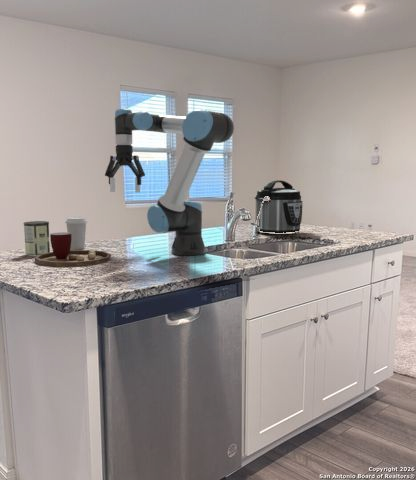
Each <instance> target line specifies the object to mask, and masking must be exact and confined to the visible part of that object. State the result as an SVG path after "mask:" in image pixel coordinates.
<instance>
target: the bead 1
mask: <svg viewBox="0 0 416 480" xmlns="http://www.w3.org/2000/svg"><path fill="white" fill-rule="evenodd" d="M76 260H77V262H78V261H84V256H83V255H78V256H77V257H76Z"/></svg>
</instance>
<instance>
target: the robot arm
mask: <svg viewBox="0 0 416 480" xmlns="http://www.w3.org/2000/svg"><path fill="white" fill-rule="evenodd" d="M114 125H115V126H114V128H115V137H114V138H115V144H116V146H115V154H116V156H115V155H110V157H109V163H108V165H107V167H106V170H105V174H104V176H105V177H107V178H108V185H109V188H110V189H109V191H110V193H112V192H113V193H114V192H116V179H115V175H116V174H117V172H118V171H119V169H120V168H121V167H122V166H123V167H124V166H125V167H126V166H127V167H129V168H130V170H131V171H132V173H133V174H134V175H135V178H134V189H135V190H134V191H135V193H140V192H141V185H142V177H146V174H145V171H144V168H143V166H142V164H141V162H140V157H139V155H137V154H136V155H135V154H134V155H133V153H134V152H133V148H134V147H133V145H132V144H133V131H142V132H143V131H145V132H156V133H162V134H177V135H183V138H182V140H183V142H184V145H183V149H182V151H181V152H180V153H181V154H180V156H179V158H178V160H177V163H176V166H175V168H174V171H173V173H172V175H171V178H170V179H169V183H168V185H167V188H166V190H165V193H164V195H161V196H159V198H158V200H157V203H156V204H153V205H151V206H150V207H149V208H148V210H147V212H146V214H147V215H146V219H147V223H148V225H149V227H150V229H152V231H153V232H154V233H157V234H159V233H160V234H161V233H163V234H166V233H170V232H175V236H174V240H173V242H172V245H171V254H172V255H178V256H198V255H204V254H206V245H205V243H204V240H203V237H202V230H203V229H202V226H203V225H202V223H203V222H202V219H203V218H202V217H203V215H202V214H203V210H202V209H203V208H202V204H201V203H200V202H197V201H191V200H190V201H188V200H186V199H187V196H188V194H189V192H190V189H191V187H192V185H193V182H194V180H195V178H196V175H197V173H198V171H199V168H200V166H201V163H202V161H203V159H204V157H205V155H206V154H207V153H208V152H210V151H211V150H212V148H213V146H214V143H215V144H222V143H225V142H227V141H228V140H230V138H232V137H233V134H234V132H235V131H234V130H235V125H234V122H233V119H232V118H231V116H229V115H228V114H225V113H223V112H217V111H211V110H206V109H194V110H192V111H190V112H188V113H187V114H186V116H182V115H181V116H179V115H177V116H176V115H164V114H163V115H162V114H155V113H154V114H153V113H149V112H148V111H137V112H133V111H132V110H131V109H128V108H118V109H116V110H115V114H114Z"/></svg>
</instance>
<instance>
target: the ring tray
mask: <svg viewBox="0 0 416 480" xmlns="http://www.w3.org/2000/svg"><path fill="white" fill-rule="evenodd" d="M89 251H95V253H96V256H95V259H94V260H89V259H88V253H89ZM78 255H83V256H84V261H78V262H77V260H76V257H77V256H78ZM111 258H112V254H111V253H109V252H106V251H103V250H94V249H93V250H92V249H77V250H70V253H69V255H68V257H67V258H66V259H57V258H56V257H55V255H54V253H53V251H50V252H49V253H44V254H40V255H38V256H34V263H36V264H38V265H40V266H45V267H58V268H59V267H62V268H63V267H64V268H65V267H84V266H92V265H93V266H94V265H99V264H100V265H101V264H103V263H107V262H109V261H110V260H111Z"/></svg>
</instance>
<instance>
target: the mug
mask: <svg viewBox="0 0 416 480" xmlns="http://www.w3.org/2000/svg"><path fill="white" fill-rule="evenodd" d="M71 241H72V236H71V233H68V232H52V233H49V242H50V246H51V250H52V252H53V253H54V255H55V257H56V258H57V259H66V258H67V257H68V255H69V253H70V248H71Z"/></svg>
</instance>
